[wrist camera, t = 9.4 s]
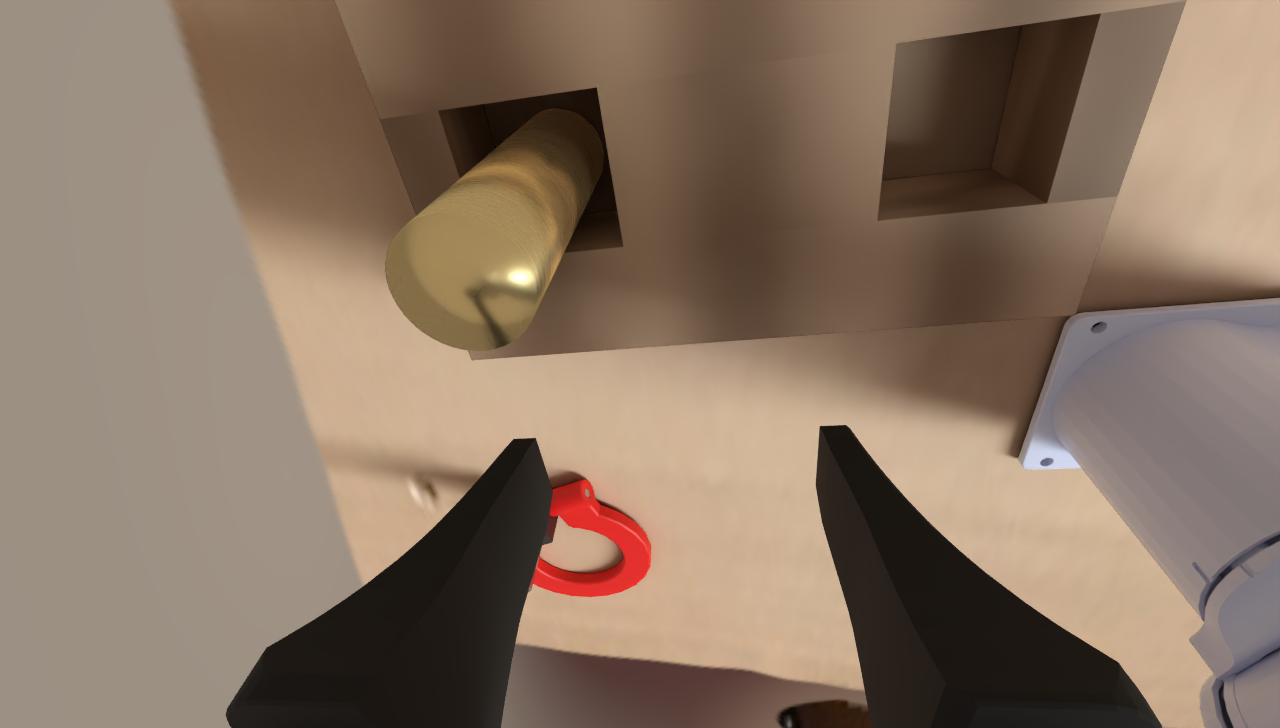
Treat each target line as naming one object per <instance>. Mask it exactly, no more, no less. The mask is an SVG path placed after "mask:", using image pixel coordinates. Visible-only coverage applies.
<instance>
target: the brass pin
mask: <svg viewBox="0 0 1280 728" xmlns="http://www.w3.org/2000/svg"><path fill="white" fill-rule="evenodd" d="M603 165H604V152H603V146H602V143H601V140H600V138H599V136H598V134H597V132H596V130H595V129H594V128H593V126H592V125H591V124H590V123H589V122H588V121H587V120H586V119H584V118H583V117H582V116H580V115H579V114H577V113H575V112H572V111H569V110H566V109H557V108H554V109H548V110H544V111H542V112H539V113H538V114H536V115H535V116H533V117H532V118H531V119H530V120H528V121H527V122H526V123H525V124H524V125H523V126H521V127H520V128H519V129H518V130H517V131H515V132H514V133H513V134H512V135H511V136H510V137H508V138H507V139H506V140H505V141H504V142H503V143H501V144H500V145H499V146H498V147H497V148H495V149H494V150H493V151H492V152H491V153H490V154H488V155H487V156H486V157H485V158H484V159H483V160H481V161H480V162H479V163H478V164H477V165H475V166H474V167H473V168H472V169H471V170H470V171H468V172H467V173H466V174H465V175H464V176H463V177H461V178H460V179H459V180H458V181H457V182H455V183H454V184H453V185H452V186H451V187H450V188H448V189H447V190H446V191H445V192H444V193H443V194H441V195H440V196H439V197H438V198H437V199H435V200H434V201H433V202H432V203H431V204H430V205H428V206H427V207H426V208H425V209H424V210H423V211H421V212H420V213H419V214H418V215H417V216H415V217H414V218H413V219H412V220H411V221H410V222H408V223H407V224H406V225H405V226H404V227H403V228H402V229H400V230H399V231H398V233H397V234H396V235H395V236H394V238H393V240H392V241H391V243H390V245H389V248H388V251H387V255H386V262H385V272H386V278H387V283H388V286H389V289H390V292H391V294H392V296H393V298H394V300H395V302H396V304H397V305H398V307H399V308H400V310H401V311H402V312H403V314H404V315H405V316H406V317H407V318H408V319H409V321H410V322H412V323H413V324H414V325H415V326H416V327H417V328H418V329H420V330H421V331H422V332H424V333H425V334H426V335H428V336H430V337H431V338H433V339H435V340H437V341H439V342H441V343H443V344H446V345H449V346H451V347H455V348H459V349H464V350H470V351H486V350H492V349H497V348H500V347H503V346H505V345H508V344H510V343H512V342H513V341H514V340H516V339H517V338H519V337H520V336H521V335H522V334H523V333H524V332H525V330H526V329H527V328H528V327H529V325H530V323H531V321H532V319H533V317H534V315H535V313H536V311H537V309H538V307H539V304H540V302H541V300H542V298H543V296H544V294H545V292H546V290H547V287H548V285H549V283H550V281H551V279H552V277H553V275H554V273H555V271H556V268H557V266H558V264H559V262H560V260H561V258H562V256H563V254H564V252H565V249H566V247H567V245H568V243H569V241H570V239H571V237H572V235H573V233H574V230H575V228H576V226H577V224H578V222H579V220H580V218H581V216H582V214H583V211H584V209H585V207H586V205H587V203H588V201H589V199H590V197H591V194H592V192H593V190H594V188H595V186H596V184H597V182H598V180H599V178H600V175H601V173H602V169H603Z"/></svg>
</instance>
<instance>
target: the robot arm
mask: <svg viewBox="0 0 1280 728" xmlns="http://www.w3.org/2000/svg"><path fill="white" fill-rule="evenodd" d="M1098 322H1100V323H1099V325H1097V326H1096V327H1094V328H1092V326H1093V325H1094V324H1096V323H1098ZM1045 458H1046V459H1045ZM1018 461H1019V462H1020V463H1021V465H1022V466H1023V468H1025V469H1029V470H1038V469H1064V468H1082V469H1083V471H1084V472H1085V473H1086V474H1087V476H1088V477H1089V478H1090V479H1091V481H1092V482H1093V483H1094V484H1095V486H1096V487H1097V488H1098V489H1099V491H1100V492H1101V493H1102V494H1103V496H1104V497H1105V498H1106V499H1107V501H1108V502H1109V503H1110V505H1111V506H1112V507H1113V508H1114V510H1115V511H1116V512H1117V513H1118V515H1119V516H1120V517H1121V518H1122V520H1123V521H1124V522H1125V523H1126V525H1127V526H1128V527H1129V528H1130V530H1131V531H1132V532H1133V533H1134V535H1135V536H1136V537H1137V538H1138V540H1139V541H1140V542H1141V543H1142V545H1143V546H1144V547H1145V548H1146V550H1147V551H1148V552H1149V554H1150V555H1151V556H1152V557H1153V559H1154V560H1155V561H1156V562H1157V564H1158V565H1159V566H1160V567H1161V569H1162V570H1163V571H1164V572H1165V574H1166V575H1167V576H1168V577H1169V579H1170V580H1171V581H1172V582H1173V584H1174V585H1175V586H1176V587H1177V589H1178V590H1179V591H1180V592H1181V594H1182V595H1183V596H1184V597H1185V599H1186V600H1187V601H1188V603H1189V604H1190V605H1191V606H1192V608H1193V609H1194V610H1195V611H1196V613H1197V614H1198V615H1199V616H1200V618H1201V619H1202V620H1203V621H1204V624H1203V626H1202V627H1201V628H1200V629H1199V630H1198V631H1197V632H1196V633H1195V634H1194V635H1192V636H1191V637H1190V638H1189V641H1190V643H1191V644H1192V645H1193V646H1194V648H1195V649H1196V650H1197V652H1198V653H1199V654H1200V656H1201V657H1202V658H1203V660H1204V661H1205V662H1206V664H1207V665H1208V666H1209V668H1210V669H1211V670H1212V672H1213V673H1214V674H1213V675H1211V676H1210V677H1209V678H1208V679H1207V680H1206V682H1205V683H1204V684H1203V686H1202V689H1201V693H1200V711H1201V715H1202V719H1203V723H1204V726H1205V728H1280V298H1271V299H1257V300H1244V301H1231V302H1218V303H1204V304H1191V305H1178V306H1164V307H1151V308H1138V309H1124V310H1111V311H1098V312H1084V313H1079V314H1076V315H1074V316H1072V317H1071V318H1069V319H1068V320H1067V321H1066V323H1065V325H1064V327H1063V330H1062V333H1061V336H1060V339H1059V342H1058V345H1057V348H1056V351H1055V354H1054V356H1053V359H1052V362H1051V365H1050V368H1049V371H1048V374H1047V377H1046V380H1045V382H1044V385H1043V388H1042V391H1041V394H1040V397H1039V400H1038V403H1037V406H1036V409H1035V411H1034V414H1033V417H1032V420H1031V423H1030V426H1029V429H1028V432H1027V435H1026V438H1025V440H1024V443H1023V446H1022V449H1021V452H1020V455H1019V460H1018ZM816 489H817V495H818V501H819V507H820V513H821V518H822V524H823V527H824V530H825V534H826V537H827V541H828V544H829V547H830V551H831V554H832V558H833V561H834V564H835V568H836V571H837V574H838V577H839V581H840V584H841V587H842V591H843V594H844V597H845V601H846V604H847V607H848V611H849V615H850V619H851V623H852V627H853V632H854V637H855V642H856V647H857V652H858V657H859V662H860V667H861V672H862V677H863V683H864V688H865V694H866V699H867V704H868V710H869V715H870V721H871V727H872V728H1162V725H1161V724H1160V722H1159V720H1158V719H1157V717H1156V716H1155V714H1154V712H1153V711H1152V709H1151V708H1150V706H1149V704H1148V703H1147V701H1146V700H1145V698H1144V697H1143V695H1142V694H1141V692H1140V691H1139V689H1138V688H1137V687H1136V685H1135V684H1134V683H1133V681H1132V680H1131V679H1130V678H1129V676H1128V675H1127V674H1126V672H1125V671H1124V670H1123V668H1122V667H1121V665H1120V664H1119V663H1118V662H1117V661H1115V660H1113V659H1112V658H1110V657H1109V656H1107V655H1105V654H1104V653H1102V652H1100V651H1099V650H1097V649H1096V648H1094V647H1092V646H1091V645H1089V644H1088V643H1086V642H1084V641H1083V640H1081V639H1079V638H1078V637H1076V636H1075V635H1073V634H1071V633H1070V632H1068V631H1066V630H1065V629H1063V628H1062V627H1060V626H1059V625H1057V624H1056V623H1054V622H1053V621H1051V620H1050V619H1048V618H1047V617H1045V616H1044V615H1042V614H1041V613H1039V612H1038V611H1037V610H1035V609H1034V608H1032V607H1031V606H1029V605H1028V604H1026V603H1025V602H1024V601H1022V600H1021V599H1020V598H1018V597H1017V596H1016V595H1014V594H1013V593H1012V592H1010V591H1009V590H1008V589H1006V588H1005V587H1004V586H1002V585H1001V584H1000V583H999V582H997V581H996V580H995V579H993V578H992V577H991V576H989V575H988V574H987V573H985V572H984V571H983V570H982V569H981V568H979V567H978V566H977V565H976V564H975V563H973V562H972V561H971V560H970V559H969V558H967V557H966V556H965V555H964V554H963V553H962V552H960V551H959V550H958V549H957V548H956V547H955V546H954V545H953V544H952V543H950V542H949V541H948V540H947V539H946V538H945V537H944V536H943V535H942V534H941V533H940V532H939V531H938V530H936V529H935V528H934V527H933V526H932V525H931V524H930V523H929V522H928V521H927V520H926V519H925V518H924V517H923V516H922V515H921V513H920V512H919V511H918V510H917V509H916V508H915V507H914V506H913V505H912V504H911V503H910V502H909V501H908V500H907V499H906V498H905V497H904V495H903V494H902V493H901V492H900V491H899V490H898V489H897V488H896V486H895V485H894V484H893V483H892V482H891V481H890V479H889V478H888V477H887V476H886V475H885V474H884V472H883V471H882V470H881V469H880V468H879V466H878V465H877V464H876V463H875V461H874V460H873V459H872V458H871V456H870V455H869V454H868V452H867V451H866V450H865V448H864V447H863V446H862V444H861V443H860V442H859V440H858V439H857V438H856V436H855V435H854V433H853V432H852V430H851V429H850V428H849V427H848V426H846V425H838V426H820V431H819V446H818V460H817V475H816ZM552 495H553V490H552V487H551V484H550V481H549V478H548V475H547V472H546V469H545V466H544V462H543V459H542V456H541V453H540V450H539V447H538V444H537V441H536V438H527V439H513V440H512V442H511V443H510V444H509V445H508V446H507V447H506V448H505V449H504V451H503V452H502V453H501V454H500V455H499V456H498V458H497V459H496V460H495V461H494V462H493V463H492V465H491V466H490V467H489V468H488V469H487V470H486V472H485V473H484V474H483V475H482V476H481V477H480V479H479V480H478V481H477V482H476V483H475V484H474V485H473V486H472V488H471V489H470V490H469V491H468V492H467V493H466V494H465V495H464V496H463V498H462V499H461V500H460V501H459V502H458V503H457V504H456V505H455V506H454V507H453V508H452V509H451V510H450V511H449V512H448V513H447V514H446V515H445V516H444V517H443V519H442V520H441V521H440V522H439V523H438V524H437V525H436V526H435V527H434V528H433V529H432V530H431V531H429V532H428V533H427V534H426V535H425V536H424V537H423V538H422V539H421V540H420V541H419V542H418V543H416V544H415V545H414V546H413V547H412V548H411V549H410V550H408V551H407V552H406V553H405V554H404V555H403V556H401V557H400V558H399V559H398V560H397V561H395V562H394V563H393V564H392V565H390V566H389V567H388V568H386V569H385V570H384V571H383V572H381V573H380V574H379V575H377V576H376V577H375V578H374V579H372V580H371V581H370V582H368V583H367V584H366V585H365V586H363V587H362V588H360V589H359V590H358V591H356V592H355V593H353V594H352V595H351V596H349V597H348V598H346V599H345V600H343V601H342V602H340V603H339V604H338V605H336V606H334V607H333V608H332V609H330V610H328V611H327V612H326V613H324V614H322V615H321V616H319V617H318V618H316V619H315V620H313V621H311V622H310V623H308V624H306V625H305V626H303V627H301V628H300V629H298V630H296V631H294V632H293V633H291V634H290V635H288V636H286V637H285V638H283V639H281V640H279V641H278V642H276V643H274V644H272V645H271V646H269V647H267V648H266V650H265V651H264V653H263V654H262V656H261V657H260V659H259V660H258V662H257V663H256V665H255V666H254V668H253V669H252V671H251V673H250V674H249V676H248V677H247V679H246V680H245V682H244V683H243V685H242V686H241V688H240V689H239V691H238V693H237V694H236V696H235V697H234V699H233V700H232V702H231V703H230V705H229V707H228V708H227V712H226V717H227V720H228V722H229V725H230V727H231V728H501V722H502V716H503V708H504V702H505V696H506V691H507V685H508V679H509V673H510V667H511V661H512V657H513V652H514V646H515V642H516V637H517V632H518V627H519V622H520V618H521V615H522V611H523V607H524V604H525V600H526V597H527V594H528V590H529V587H530V584H531V581H532V577H533V574H534V571H535V567H536V564H537V561H538V558H539V554H540V551H541V547H542V544H543V541H544V537H545V534H546V530H547V526H548V520H549V515H550V509H551V502H552Z"/></svg>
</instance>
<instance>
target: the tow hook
mask: <svg viewBox="0 0 1280 728" xmlns="http://www.w3.org/2000/svg"><path fill="white" fill-rule="evenodd" d="M552 490H553V495H552V502H551V509H550V515H549V520H548V526H547V530H546V534H545V537H544V541H543V544H542V545H544V544H548V543H552V541H553V537H554V532H555V528H556V523H557V519H558V516H560V517H561V518H562V519H563V520H564V521H565V522H566V524H567V525H568V526H570V527H573V528H582V529H586V530H591V531H594V532H597V533H599V534H602V535H604V536H606V537H608V538H609V539H611V540H612V541H614V542H615V543H616V544H617V545H618V546H619V547H620V548H621V551H622V553H623V555H624V557H623V559H622V561H621V562H620V563H619V564H618V565H617V566H615V567H613V568H611V569H609V570H606V571H603V572H599V573H589V574H585V573H573V572H569V571H564V570H561V569H558V568H556V567H553V566H551V565H549V564H548V563H546V562H544V561H543V560H542V559H540V558H538V561H537V564H536V567H535V571H534V574H533V577H532V581H531V584H530V587H529V590H528V592H530V591H531V589H532V585H533V584H535V585H537V586H539V587H541V588H544V589H547V590H550V591H553V592H556V593H561V594H566V595H571V596H584V597H594V596H606V595H610V594H614V593H618V592H622V591H624V590H626V589H628V588H630V587H632V586H634V585H636V584H637V583H638V582H639V581H641V580H642V579H643V578H644V577H645V576H646V574H647V572H648V570H649V568H650V562H651V545H650V542H649V540H648V537H647V535H646V533H645V532H644V531H643V530H642V529H641V528H640V527H639V526H638V525H637V523H635V522H634V521H632V520H631V519H629V518H628V517H626V516H625V515H623V514H622V513H620V512H617V511H615V510H613V509H610V508H608V507H605V506H603V505H600V504H599V503H598V502H597V500H596V499H595V496H594V491H593V488H592V485H591V484H590V482H589V481H588V480H581V481H578V482H574V483H571V484H568V485H564V486H561V487H558V488H555V489H552ZM540 552H541V551H540ZM539 555H540V554H539Z"/></svg>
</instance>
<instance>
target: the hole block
mask: <svg viewBox="0 0 1280 728" xmlns="http://www.w3.org/2000/svg"><path fill="white" fill-rule="evenodd" d="M334 1H335V3H336V6H337V8H338V11H339V14H340V16H341V19H342V22H343V24H344V27H345V29H346V32H347V35H348V37H349V40H350V43H351V45H352V48H353V50H354V53H355V56H356V58H357V61H358V64H359V66H360V69H361V71H362V74H363V77H364V79H365V82H366V85H367V87H368V90H369V92H370V95H371V98H372V100H373V103H374V105H375V108H376V111H377V113H378V116H379V119H380V121H381V124H382V126H383V129H384V132H385V134H386V137H387V140H388V142H389V145H390V147H391V150H392V153H393V155H394V158H395V161H396V163H397V166H398V168H399V171H400V174H401V176H402V179H403V182H404V184H405V187H406V189H407V192H408V195H409V197H410V200H411V203H412V205H413V208H414V210H415V213H416V216H417V215H418V214H419V213H420V212H421V211H423V210H424V209H425V208H426V207H427V206H428V205H430V204H431V203H432V202H433V201H434V200H435V199H437V198H438V197H439V196H440V195H441V194H443V193H444V192H445V191H446V190H447V189H448V188H450V187H451V186H452V185H453V184H454V183H455V182H457V181H458V180H459V179H460V178H461V177H463V176H464V175H465V174H466V173H467V172H468V171H470V170H471V169H472V168H473V167H474V166H475V165H477V164H478V163H479V162H480V161H481V160H483V159H484V158H485V157H486V156H487V155H488V154H490V153H491V152H492V151H493V150H494V149H495V147H494V143H493V140H492V136H491V133H490V129H489V126H488V122H487V118H486V115H485V111H484V108H483V104H487V103H494V102H501V101H507V100H514V99H521V98H528V97H535V96H541V95H548V94H555V93H562V92H569V91H576V90H582V89H589V88H596V87H597V92H598V98H599V104H600V110H601V116H602V121H603V127H604V133H605V139H606V145H607V151H608V157H609V163H610V169H611V175H612V181H613V187H614V193H615V199H616V205H617V210H616V211H607V212H598V213H590V214H582V216H581V218H580V220H579V222H578V224H577V226H576V228H575V230H574V233H573V235H572V237H571V239H570V241H569V243H568V245H567V247H566V249H565V252H564V254H563V256H562V258H561V260H560V262H559V264H558V266H557V268H556V271H555V273H554V275H553V277H552V279H551V281H550V283H549V285H548V287H547V290H546V292H545V294H544V296H543V298H542V300H541V302H540V304H539V307H538V309H537V311H536V313H535V315H534V317H533V319H532V321H531V323H530V325H529V327H528V328H527V329H526V330H525V332H524V333H523V334H522V335H521V336H520V337H519V338H517V339H516V340H514V341H513V342H512V343H510V344H508V345H505V346H503V347H500V348H497V349H492V350H486V351H470V350H468V352H469V355H470V357H471V360H482V359H495V358H508V357H522V356H535V355H549V354H562V353H575V352H589V351H602V350H616V349H629V348H642V347H656V346H669V345H683V344H696V343H709V342H723V341H736V340H750V339H763V338H776V337H790V336H803V335H817V334H830V333H843V332H857V331H870V330H884V329H897V328H910V327H924V326H937V325H951V324H964V323H978V322H991V321H1004V320H1018V319H1031V318H1045V317H1058V316H1071V315H1075V314H1076V312H1077V309H1078V306H1079V303H1080V300H1081V297H1082V295H1083V292H1084V289H1085V286H1086V283H1087V280H1088V278H1089V275H1090V272H1091V269H1092V266H1093V263H1094V261H1095V258H1096V255H1097V252H1098V249H1099V247H1100V244H1101V241H1102V238H1103V235H1104V232H1105V230H1106V227H1107V224H1108V221H1109V218H1110V215H1111V213H1112V210H1113V207H1114V204H1115V201H1116V199H1117V196H1118V193H1119V190H1120V187H1121V184H1122V182H1123V179H1124V176H1125V173H1126V170H1127V167H1128V165H1129V162H1130V159H1131V156H1132V153H1133V150H1134V148H1135V145H1136V142H1137V139H1138V136H1139V134H1140V131H1141V128H1142V125H1143V122H1144V119H1145V117H1146V114H1147V111H1148V108H1149V105H1150V102H1151V100H1152V97H1153V94H1154V91H1155V88H1156V86H1157V83H1158V80H1159V77H1160V74H1161V71H1162V69H1163V66H1164V63H1165V60H1166V57H1167V54H1168V52H1169V49H1170V46H1171V43H1172V40H1173V37H1174V35H1175V32H1176V29H1177V26H1178V23H1179V21H1180V18H1181V15H1182V12H1183V9H1184V6H1185V4H1186V1H1187V0H334ZM1018 25H1022V29H1021V33H1020V38H1019V42H1018V47H1017V52H1016V56H1015V61H1014V65H1013V70H1012V75H1011V79H1010V84H1009V89H1008V93H1007V98H1006V102H1005V107H1004V112H1003V116H1002V121H1001V125H1000V130H999V135H998V139H997V144H996V149H995V153H994V158H993V162H992V167H991V168H990V169H981V170H972V171H963V172H954V173H945V174H936V175H927V176H919V177H910V178H901V179H892V180H883V181H882V173H883V164H884V154H885V145H886V136H887V126H888V117H889V108H890V99H891V89H892V80H893V71H894V61H895V52H896V43H903V42H909V41H916V40H923V39H930V38H937V37H943V36H950V35H957V34H964V33H971V32H977V31H984V30H991V29H998V28H1005V27H1012V26H1018Z"/></svg>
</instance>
